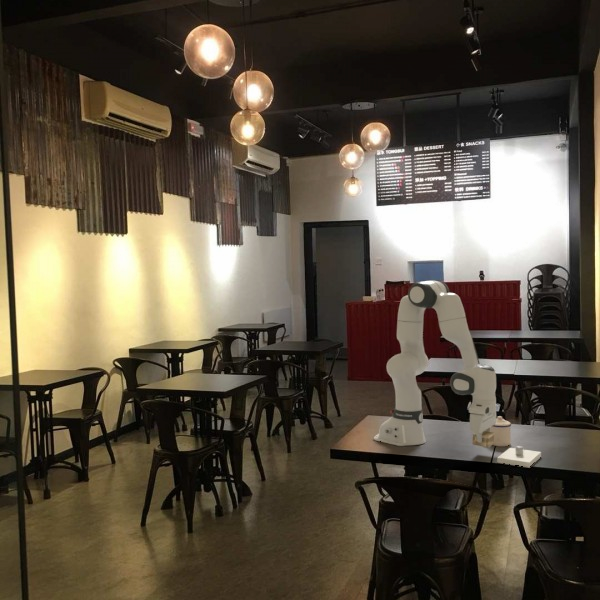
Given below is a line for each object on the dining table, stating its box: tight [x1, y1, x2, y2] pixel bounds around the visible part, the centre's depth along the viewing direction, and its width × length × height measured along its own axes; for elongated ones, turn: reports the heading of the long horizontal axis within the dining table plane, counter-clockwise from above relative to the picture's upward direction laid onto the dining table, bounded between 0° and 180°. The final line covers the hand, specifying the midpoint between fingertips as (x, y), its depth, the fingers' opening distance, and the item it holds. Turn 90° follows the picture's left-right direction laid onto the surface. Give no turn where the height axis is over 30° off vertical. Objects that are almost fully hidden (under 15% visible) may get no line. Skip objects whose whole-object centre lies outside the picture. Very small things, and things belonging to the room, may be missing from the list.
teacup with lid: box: [490, 415, 512, 447], centre depth 265 cm, size 12×9×12 cm
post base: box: [496, 445, 542, 469], centre depth 242 cm, size 12×16×5 cm
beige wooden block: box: [472, 431, 494, 448], centre depth 249 cm, size 6×6×4 cm
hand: (483, 439), depth 249 cm, fingers closed on beige wooden block, 6 cm apart
